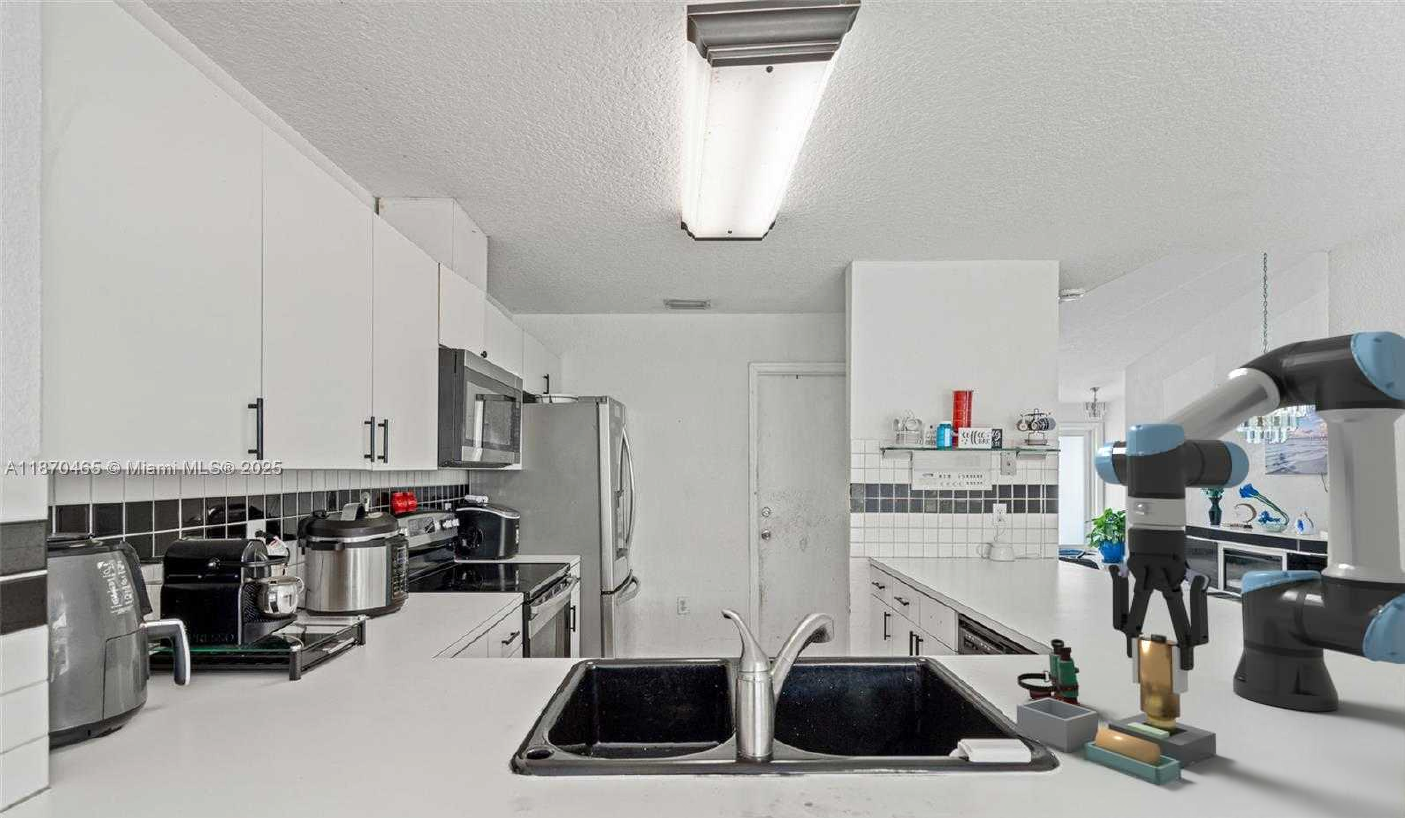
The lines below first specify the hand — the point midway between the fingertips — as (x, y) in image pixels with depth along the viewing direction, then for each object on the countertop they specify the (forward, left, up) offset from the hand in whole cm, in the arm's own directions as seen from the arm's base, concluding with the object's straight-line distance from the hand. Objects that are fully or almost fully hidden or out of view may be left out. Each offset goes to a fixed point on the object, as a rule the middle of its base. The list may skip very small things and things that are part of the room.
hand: (1159, 686), depth 110 cm
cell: (0, 0, -4) cm, 4 cm away
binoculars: (-5, -21, -9) cm, 24 cm away
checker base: (0, 0, -9) cm, 9 cm away
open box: (+10, -10, -9) cm, 17 cm away
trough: (+11, +2, -9) cm, 14 cm away
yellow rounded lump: (0, 0, -6) cm, 6 cm away
